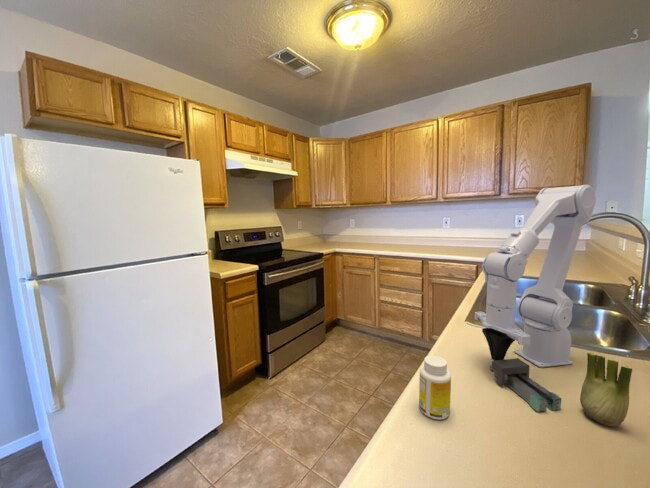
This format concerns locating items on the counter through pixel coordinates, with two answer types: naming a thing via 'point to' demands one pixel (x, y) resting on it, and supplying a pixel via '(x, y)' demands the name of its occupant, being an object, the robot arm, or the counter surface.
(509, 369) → the grey stepped block
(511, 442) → the counter surface
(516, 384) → the bar
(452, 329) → the counter surface
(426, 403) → the supplement bottle
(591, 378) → the fennel bulb
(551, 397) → the tongs base
